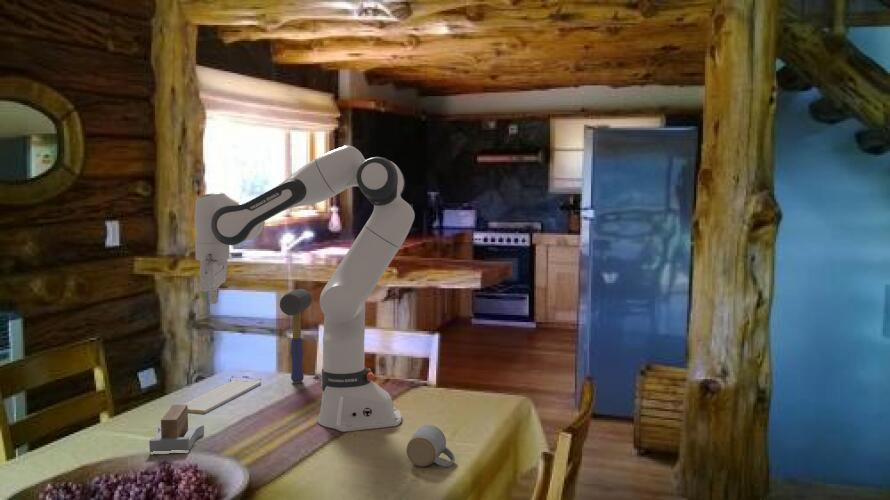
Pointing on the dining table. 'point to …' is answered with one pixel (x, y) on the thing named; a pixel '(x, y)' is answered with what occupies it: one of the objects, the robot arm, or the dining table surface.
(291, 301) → the rubber mallet
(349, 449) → the dining table surface
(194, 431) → the grey channel
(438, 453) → the ceramic mug
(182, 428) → the walnut plank
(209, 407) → the baseboard molding
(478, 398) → the dining table surface
